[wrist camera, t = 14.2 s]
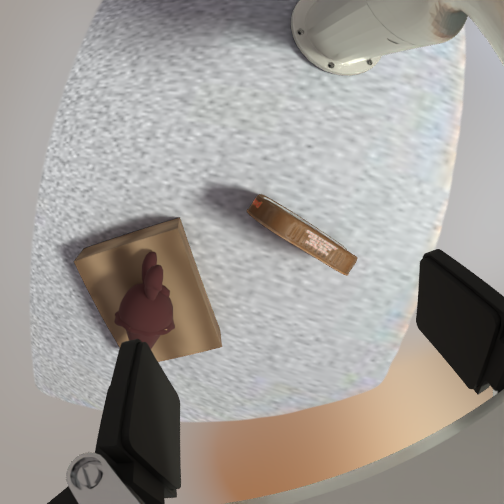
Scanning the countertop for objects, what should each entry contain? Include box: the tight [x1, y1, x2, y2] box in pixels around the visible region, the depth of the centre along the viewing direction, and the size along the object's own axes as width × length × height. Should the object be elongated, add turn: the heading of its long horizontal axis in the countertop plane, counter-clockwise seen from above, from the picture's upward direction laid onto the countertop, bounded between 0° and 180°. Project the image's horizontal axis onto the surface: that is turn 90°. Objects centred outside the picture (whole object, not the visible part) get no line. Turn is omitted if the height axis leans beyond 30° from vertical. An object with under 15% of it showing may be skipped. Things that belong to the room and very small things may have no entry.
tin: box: [247, 194, 357, 276], centre depth 37 cm, size 15×3×8 cm, turn 57°
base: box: [74, 218, 222, 362], centre depth 40 cm, size 14×18×4 cm
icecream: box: [114, 252, 175, 349], centre depth 35 cm, size 7×7×15 cm
